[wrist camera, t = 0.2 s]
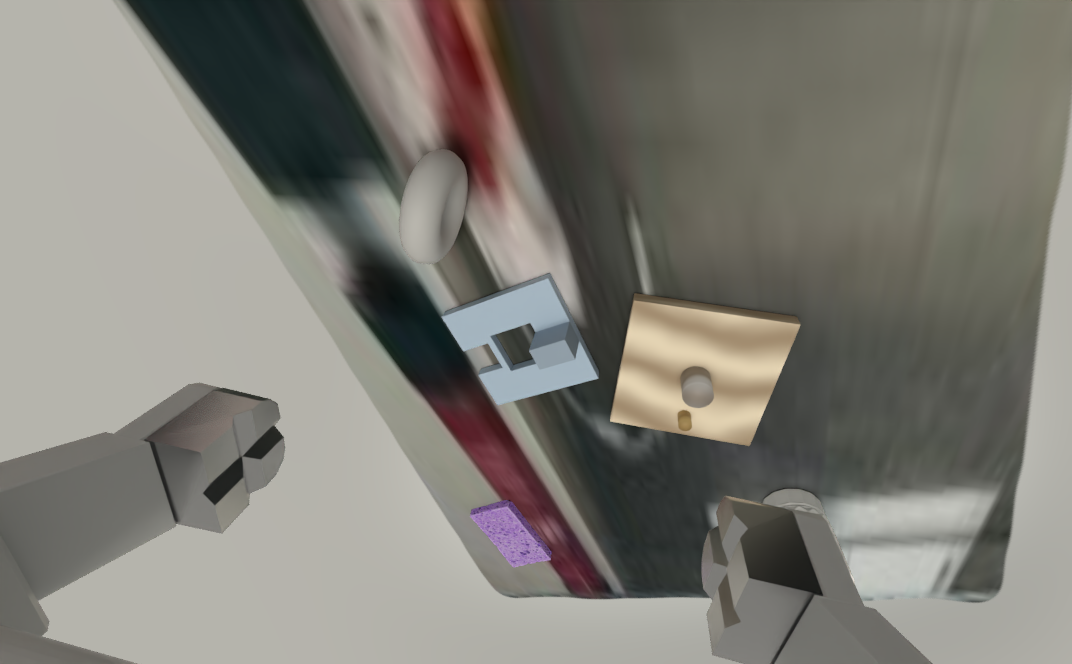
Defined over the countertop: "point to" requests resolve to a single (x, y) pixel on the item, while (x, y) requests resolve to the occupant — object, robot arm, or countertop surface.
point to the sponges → (511, 533)
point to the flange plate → (512, 316)
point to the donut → (433, 206)
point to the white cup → (801, 507)
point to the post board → (700, 367)
